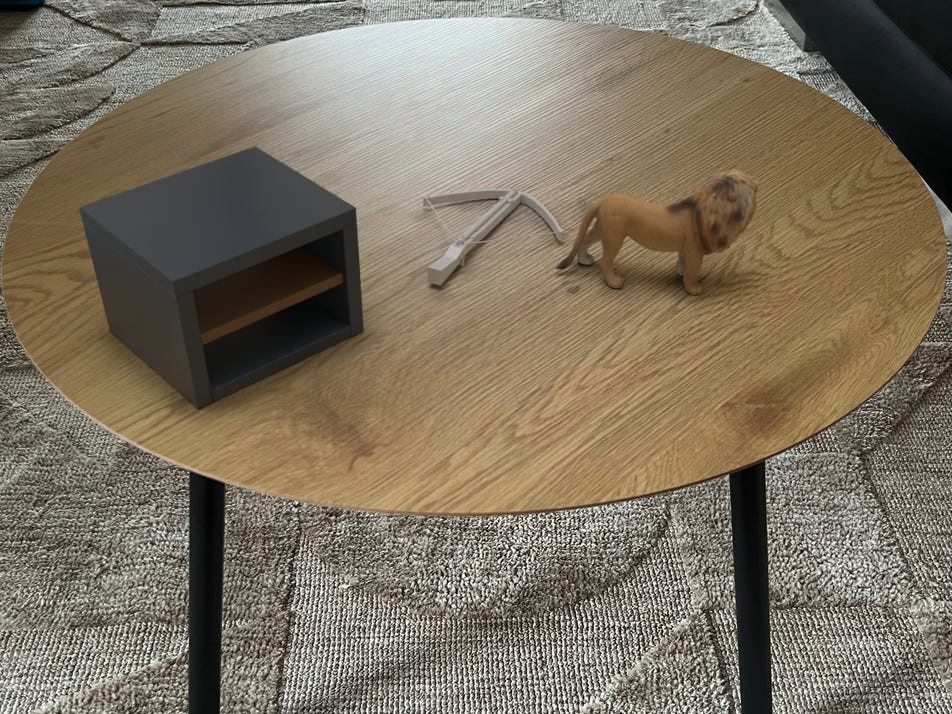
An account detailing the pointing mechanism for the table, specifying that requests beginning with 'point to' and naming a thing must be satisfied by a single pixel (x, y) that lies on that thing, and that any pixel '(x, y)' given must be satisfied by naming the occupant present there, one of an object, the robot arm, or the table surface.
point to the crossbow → (481, 225)
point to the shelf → (226, 272)
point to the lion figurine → (670, 226)
